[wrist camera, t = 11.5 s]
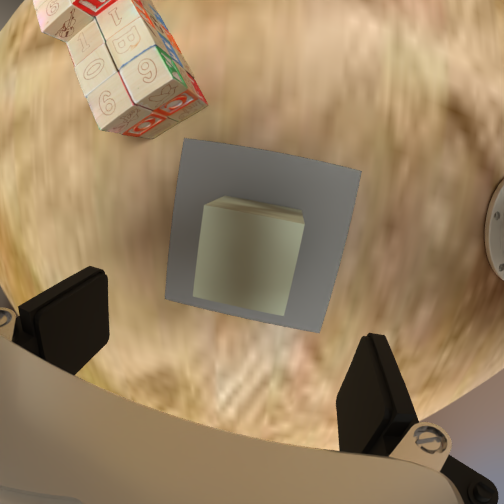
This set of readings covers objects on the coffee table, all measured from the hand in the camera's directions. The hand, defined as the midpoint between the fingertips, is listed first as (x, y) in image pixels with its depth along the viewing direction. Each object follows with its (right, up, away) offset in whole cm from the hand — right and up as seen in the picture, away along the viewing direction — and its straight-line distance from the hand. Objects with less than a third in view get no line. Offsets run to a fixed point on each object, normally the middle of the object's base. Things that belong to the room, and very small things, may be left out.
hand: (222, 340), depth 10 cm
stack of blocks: (-10, +24, +14) cm, 29 cm away
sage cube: (+1, +4, +14) cm, 15 cm away
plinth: (+2, +5, +17) cm, 18 cm away
